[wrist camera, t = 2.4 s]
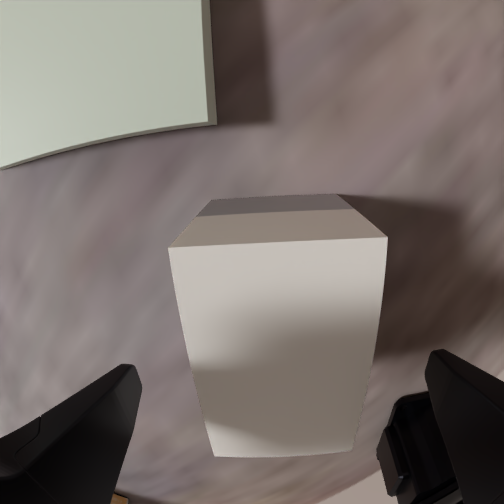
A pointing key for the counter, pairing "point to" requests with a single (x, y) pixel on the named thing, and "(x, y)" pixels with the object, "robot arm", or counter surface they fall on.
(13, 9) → the stand
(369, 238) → the block
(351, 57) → the counter surface
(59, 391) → the counter surface
